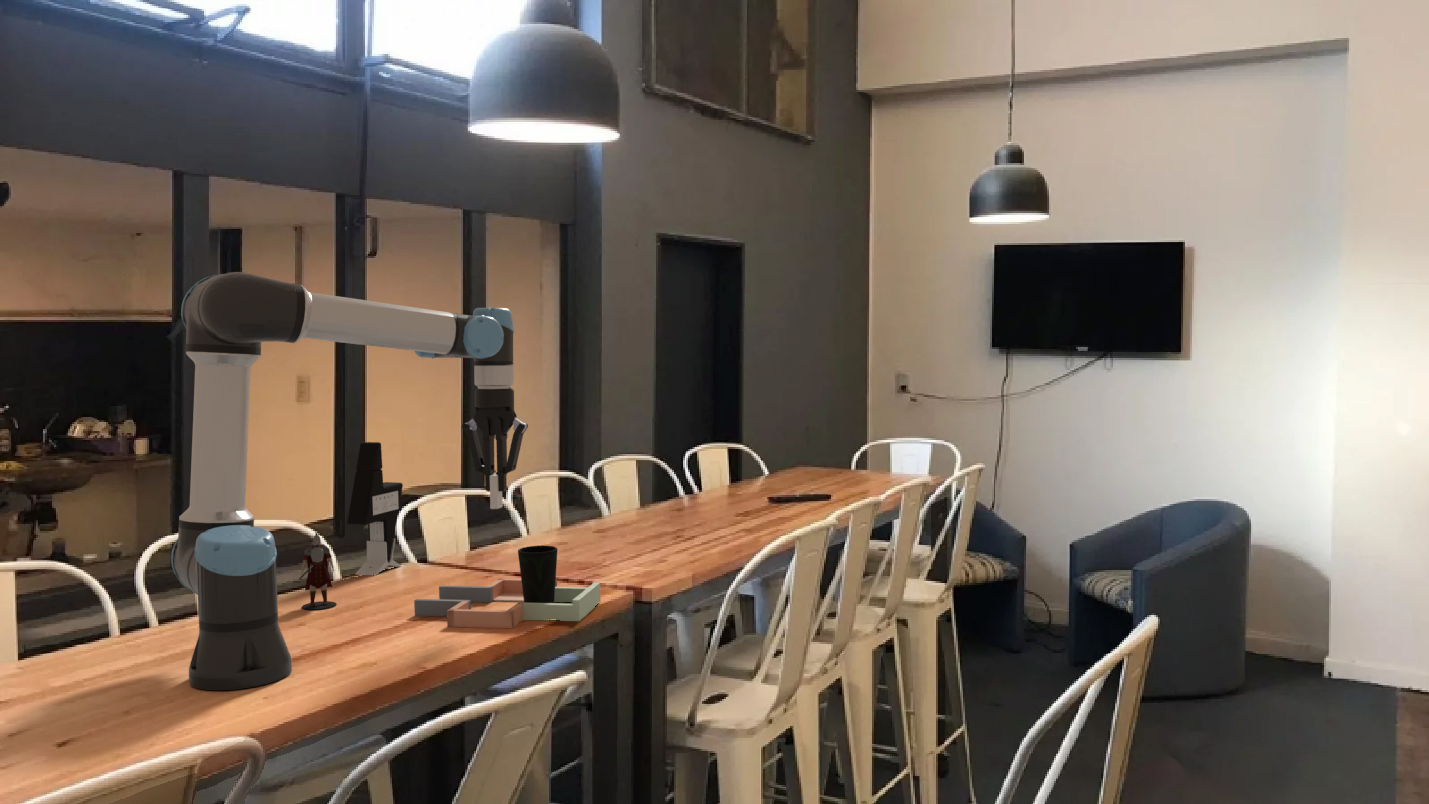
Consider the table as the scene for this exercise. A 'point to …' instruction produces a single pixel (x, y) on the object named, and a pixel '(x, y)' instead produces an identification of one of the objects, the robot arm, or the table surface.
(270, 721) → the table surface
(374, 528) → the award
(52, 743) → the table surface
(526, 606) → the track
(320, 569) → the figurine
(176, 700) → the table surface
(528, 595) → the cup
